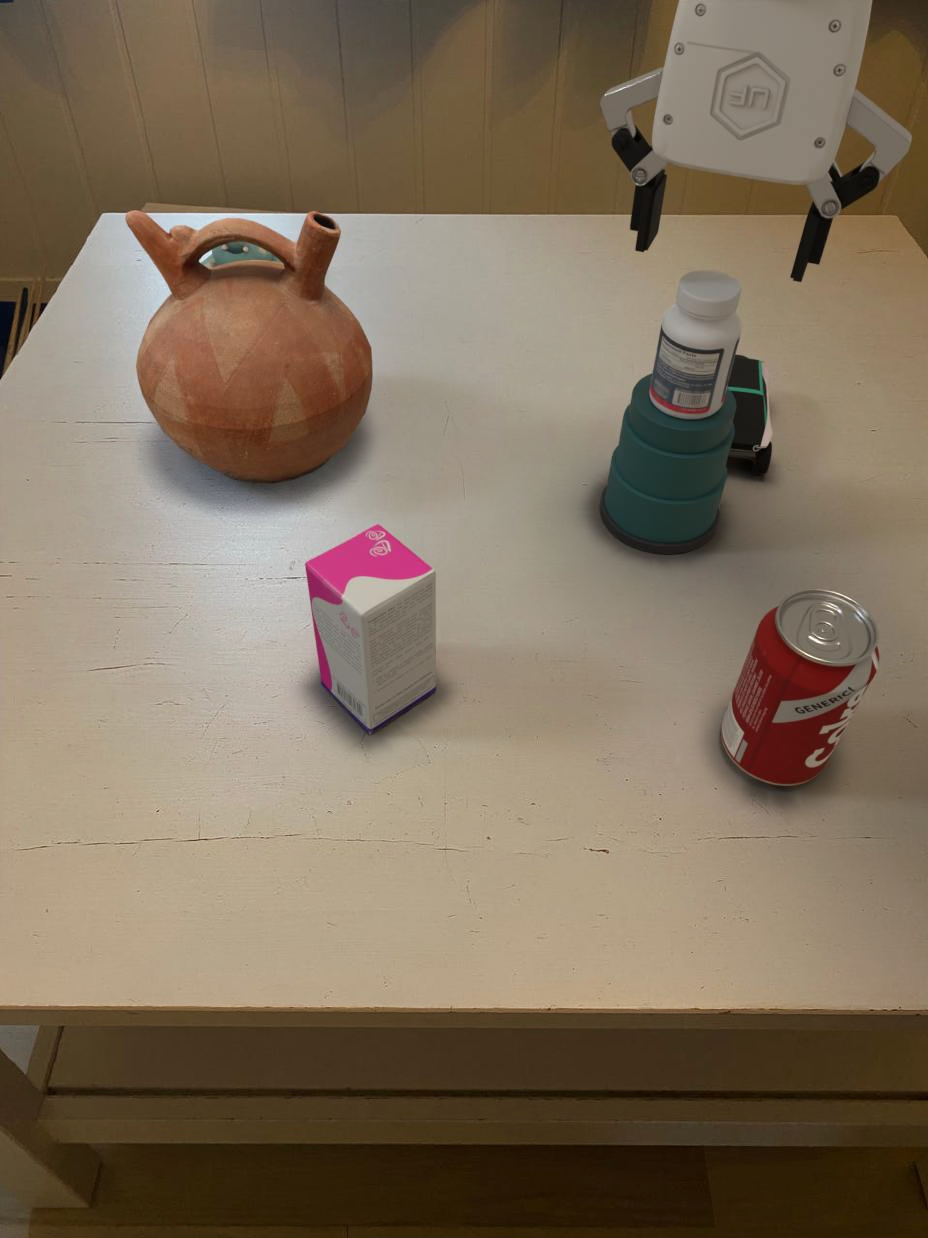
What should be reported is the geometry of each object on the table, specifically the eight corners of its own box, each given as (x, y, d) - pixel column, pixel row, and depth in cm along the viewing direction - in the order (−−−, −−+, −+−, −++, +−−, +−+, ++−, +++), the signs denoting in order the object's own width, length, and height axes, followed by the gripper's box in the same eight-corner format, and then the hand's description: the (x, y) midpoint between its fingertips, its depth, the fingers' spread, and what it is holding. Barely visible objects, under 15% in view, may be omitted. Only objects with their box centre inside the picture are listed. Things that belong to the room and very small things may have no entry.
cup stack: (728, 493, 77) (762, 378, 69) (702, 568, 72) (736, 452, 63) (618, 464, 80) (638, 349, 72) (584, 534, 74) (601, 419, 66)
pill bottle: (681, 369, 70) (706, 255, 63) (737, 402, 67) (769, 286, 61) (632, 396, 68) (653, 280, 61) (688, 431, 65) (716, 314, 58)
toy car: (760, 398, 86) (775, 346, 82) (764, 481, 78) (781, 429, 74) (694, 390, 87) (707, 339, 83) (693, 473, 79) (706, 421, 75)
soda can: (711, 775, 59) (759, 655, 50) (724, 693, 64) (770, 569, 55) (822, 804, 58) (890, 685, 49) (827, 718, 62) (891, 595, 53)
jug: (135, 510, 75) (58, 275, 60) (186, 378, 87) (132, 155, 72) (367, 517, 75) (347, 283, 60) (386, 384, 87) (373, 161, 72)
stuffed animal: (155, 273, 89) (193, 193, 95) (176, 332, 95) (210, 253, 101) (266, 283, 88) (297, 202, 94) (280, 342, 94) (308, 262, 100)
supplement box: (439, 689, 64) (439, 570, 55) (369, 737, 61) (357, 619, 52) (386, 640, 66) (378, 519, 58) (317, 683, 64) (298, 563, 55)
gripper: (601, -76, 46) (571, 257, 59) (975, -39, 42) (856, 313, 55) (641, -107, 51) (605, 208, 64) (981, -76, 47) (870, 256, 59)
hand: (721, 256), depth 59 cm, fingers open, 9 cm apart
